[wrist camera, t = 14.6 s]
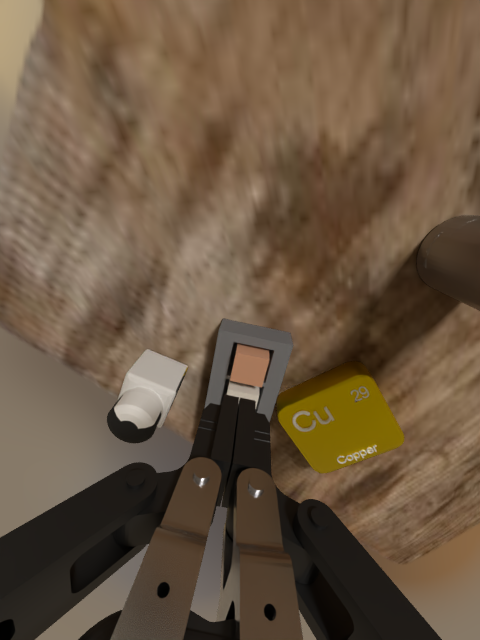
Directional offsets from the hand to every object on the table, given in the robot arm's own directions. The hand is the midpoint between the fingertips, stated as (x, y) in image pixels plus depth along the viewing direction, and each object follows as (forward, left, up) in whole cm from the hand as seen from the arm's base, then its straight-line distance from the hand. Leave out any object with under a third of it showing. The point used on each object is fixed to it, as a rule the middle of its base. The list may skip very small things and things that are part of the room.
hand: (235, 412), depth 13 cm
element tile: (-18, +19, -28) cm, 38 cm away
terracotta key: (-2, +11, -25) cm, 27 cm away
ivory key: (-2, +17, -25) cm, 30 cm away
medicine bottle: (+11, +19, -27) cm, 35 cm away
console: (-2, +17, -27) cm, 32 cm away
